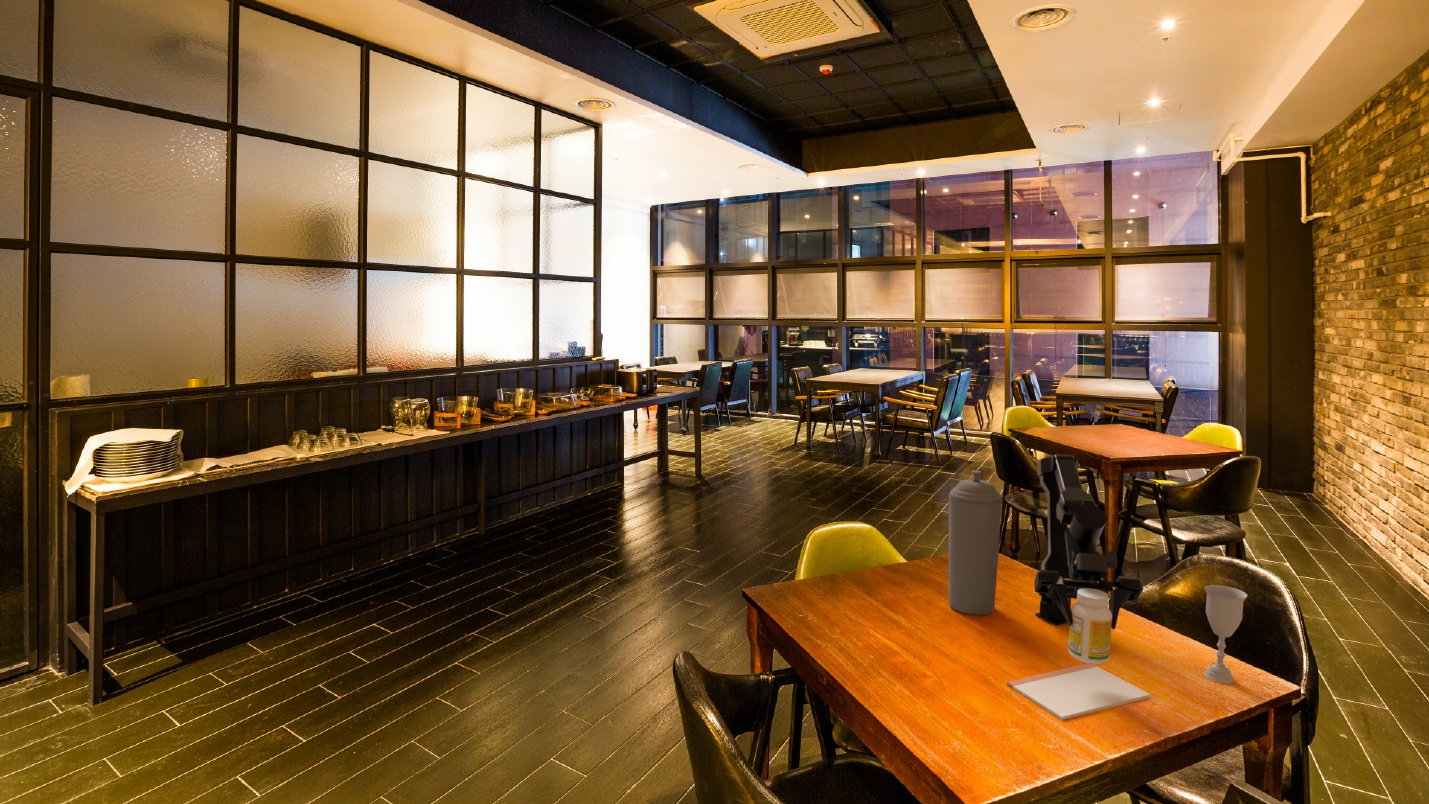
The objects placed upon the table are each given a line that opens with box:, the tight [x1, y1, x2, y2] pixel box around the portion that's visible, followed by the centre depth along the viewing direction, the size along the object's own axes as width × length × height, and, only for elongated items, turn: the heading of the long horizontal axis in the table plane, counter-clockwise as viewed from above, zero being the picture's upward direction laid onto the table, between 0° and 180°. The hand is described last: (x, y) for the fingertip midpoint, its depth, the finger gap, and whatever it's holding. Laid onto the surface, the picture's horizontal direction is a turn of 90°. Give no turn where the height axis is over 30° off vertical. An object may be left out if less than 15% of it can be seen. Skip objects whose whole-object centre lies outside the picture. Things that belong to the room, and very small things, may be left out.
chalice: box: [1203, 584, 1248, 685], centre depth 144 cm, size 7×7×18 cm
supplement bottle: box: [1067, 588, 1112, 664], centre depth 140 cm, size 7×7×13 cm
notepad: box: [1006, 663, 1151, 721], centre depth 140 cm, size 22×14×1 cm, turn 110°
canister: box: [948, 470, 1004, 616], centre depth 180 cm, size 13×13×35 cm
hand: (1092, 626), depth 139 cm, fingers closed on supplement bottle, 7 cm apart
